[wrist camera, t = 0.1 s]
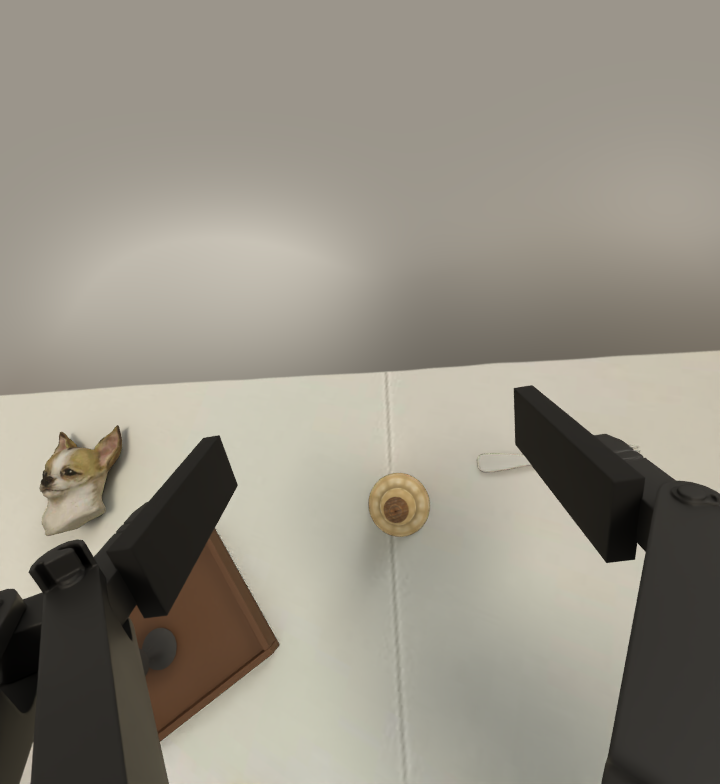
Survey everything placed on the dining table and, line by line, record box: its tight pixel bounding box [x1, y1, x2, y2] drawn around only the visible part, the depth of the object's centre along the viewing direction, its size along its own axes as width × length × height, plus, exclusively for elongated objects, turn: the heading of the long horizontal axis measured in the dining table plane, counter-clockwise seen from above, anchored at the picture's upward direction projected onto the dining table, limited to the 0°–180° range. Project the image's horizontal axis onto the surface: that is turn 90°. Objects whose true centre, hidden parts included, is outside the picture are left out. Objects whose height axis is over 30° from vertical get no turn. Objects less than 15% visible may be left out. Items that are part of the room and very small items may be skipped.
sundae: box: [139, 628, 177, 676], centre depth 41 cm, size 7×7×15 cm
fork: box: [477, 445, 640, 472], centre depth 48 cm, size 3×21×3 cm, turn 94°
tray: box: [129, 528, 279, 741], centre depth 47 cm, size 18×22×2 cm
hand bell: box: [369, 473, 430, 537], centre depth 42 cm, size 8×8×16 cm
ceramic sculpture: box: [40, 425, 122, 536], centre depth 51 cm, size 11×9×15 cm
